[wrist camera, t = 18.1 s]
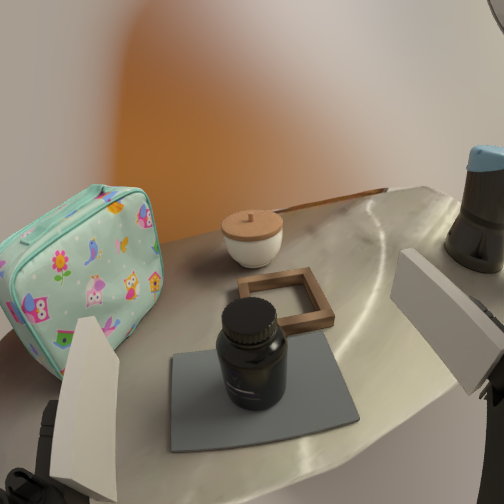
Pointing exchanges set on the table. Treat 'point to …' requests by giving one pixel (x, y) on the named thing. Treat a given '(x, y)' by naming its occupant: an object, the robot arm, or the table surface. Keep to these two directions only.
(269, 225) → the lidded jar
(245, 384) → the supplement bottle
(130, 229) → the lunch box
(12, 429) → the table surface
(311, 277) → the walnut collar
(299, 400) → the slate mat
